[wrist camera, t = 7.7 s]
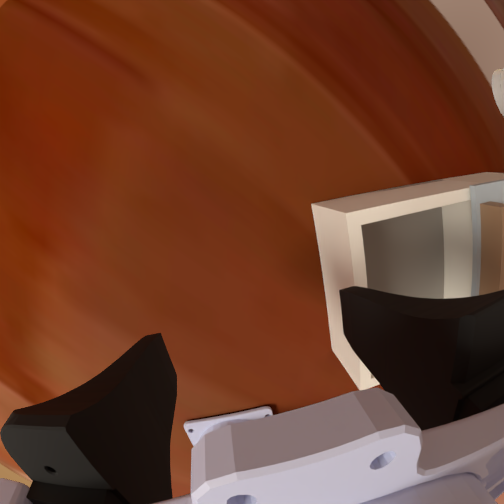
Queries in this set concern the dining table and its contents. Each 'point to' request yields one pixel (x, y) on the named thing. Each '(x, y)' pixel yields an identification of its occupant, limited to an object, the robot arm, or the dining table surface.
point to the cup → (498, 88)
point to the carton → (396, 248)
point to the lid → (487, 237)
